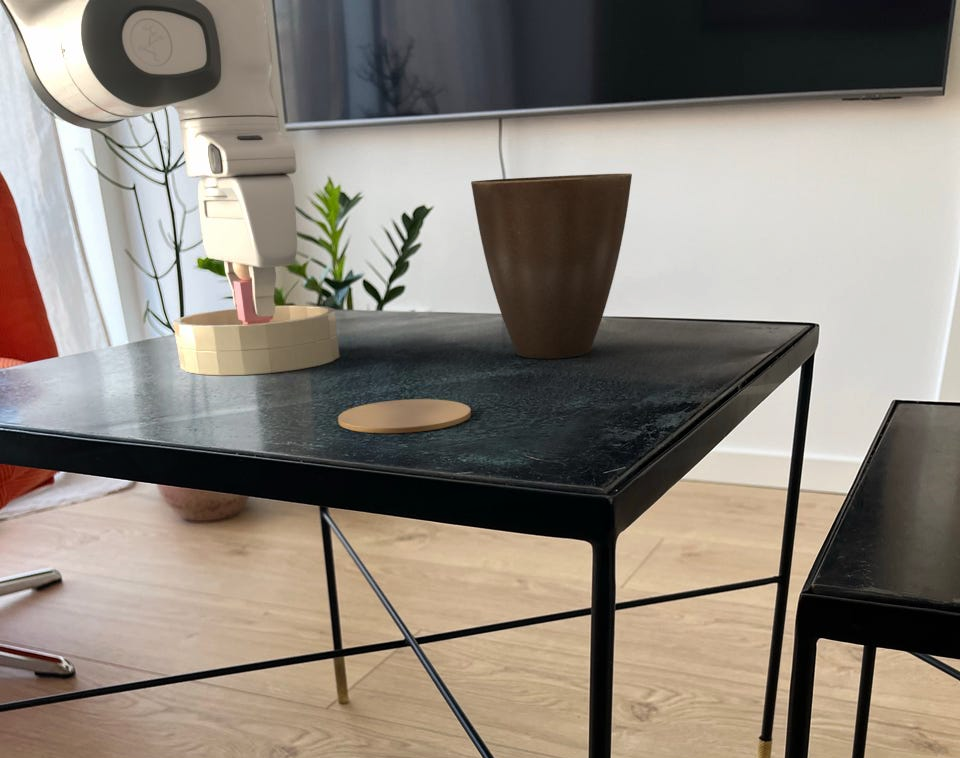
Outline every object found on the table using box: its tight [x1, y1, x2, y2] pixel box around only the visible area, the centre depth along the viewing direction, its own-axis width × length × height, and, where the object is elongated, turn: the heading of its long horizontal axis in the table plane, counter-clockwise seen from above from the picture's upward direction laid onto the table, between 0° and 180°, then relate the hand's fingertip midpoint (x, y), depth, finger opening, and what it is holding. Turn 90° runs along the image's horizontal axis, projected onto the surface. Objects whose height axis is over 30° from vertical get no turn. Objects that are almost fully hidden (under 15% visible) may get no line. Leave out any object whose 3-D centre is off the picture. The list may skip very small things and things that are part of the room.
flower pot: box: [470, 173, 633, 360], centre depth 97 cm, size 15×15×16 cm
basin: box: [172, 304, 340, 376], centre depth 100 cm, size 15×15×5 cm
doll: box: [233, 263, 273, 325], centre depth 99 cm, size 3×3×10 cm
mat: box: [337, 398, 472, 434], centre depth 76 cm, size 10×10×1 cm
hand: (254, 312), depth 99 cm, fingers open, 5 cm apart
